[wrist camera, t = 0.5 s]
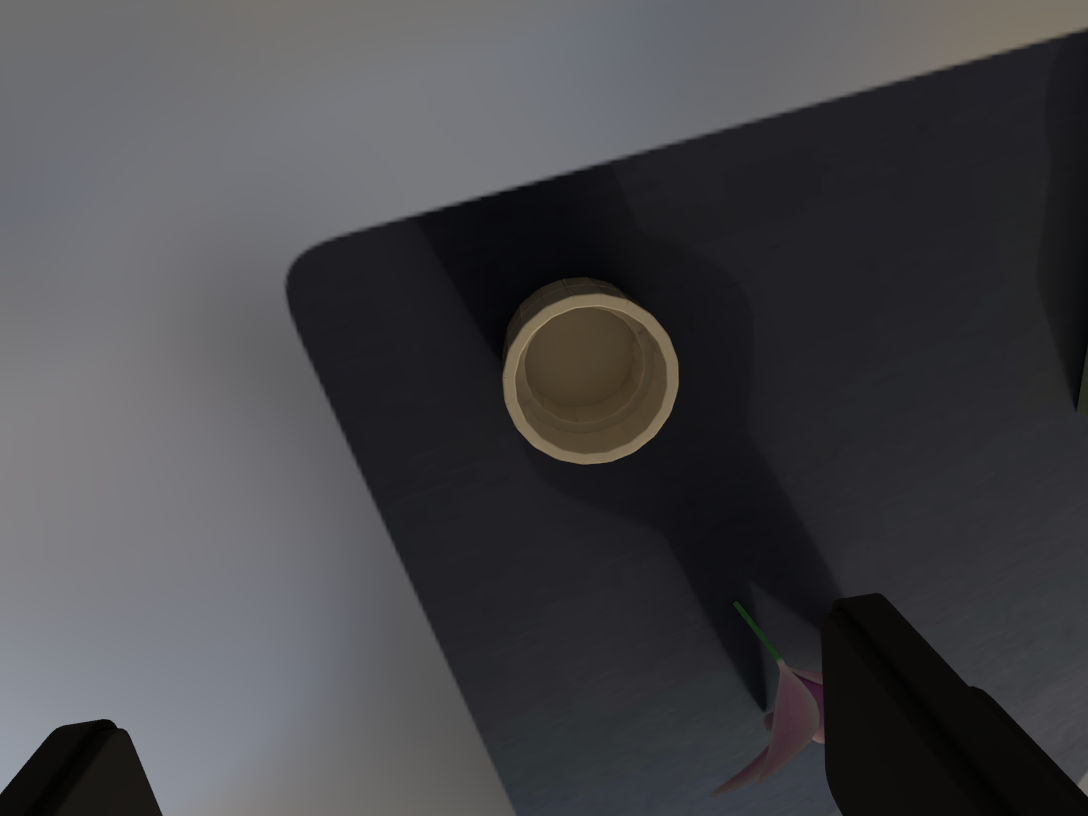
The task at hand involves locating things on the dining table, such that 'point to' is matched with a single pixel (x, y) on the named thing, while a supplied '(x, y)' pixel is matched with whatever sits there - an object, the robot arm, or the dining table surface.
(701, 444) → the dining table surface
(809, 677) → the lily
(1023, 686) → the dining table surface
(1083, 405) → the scale
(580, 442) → the tan faceted cup
